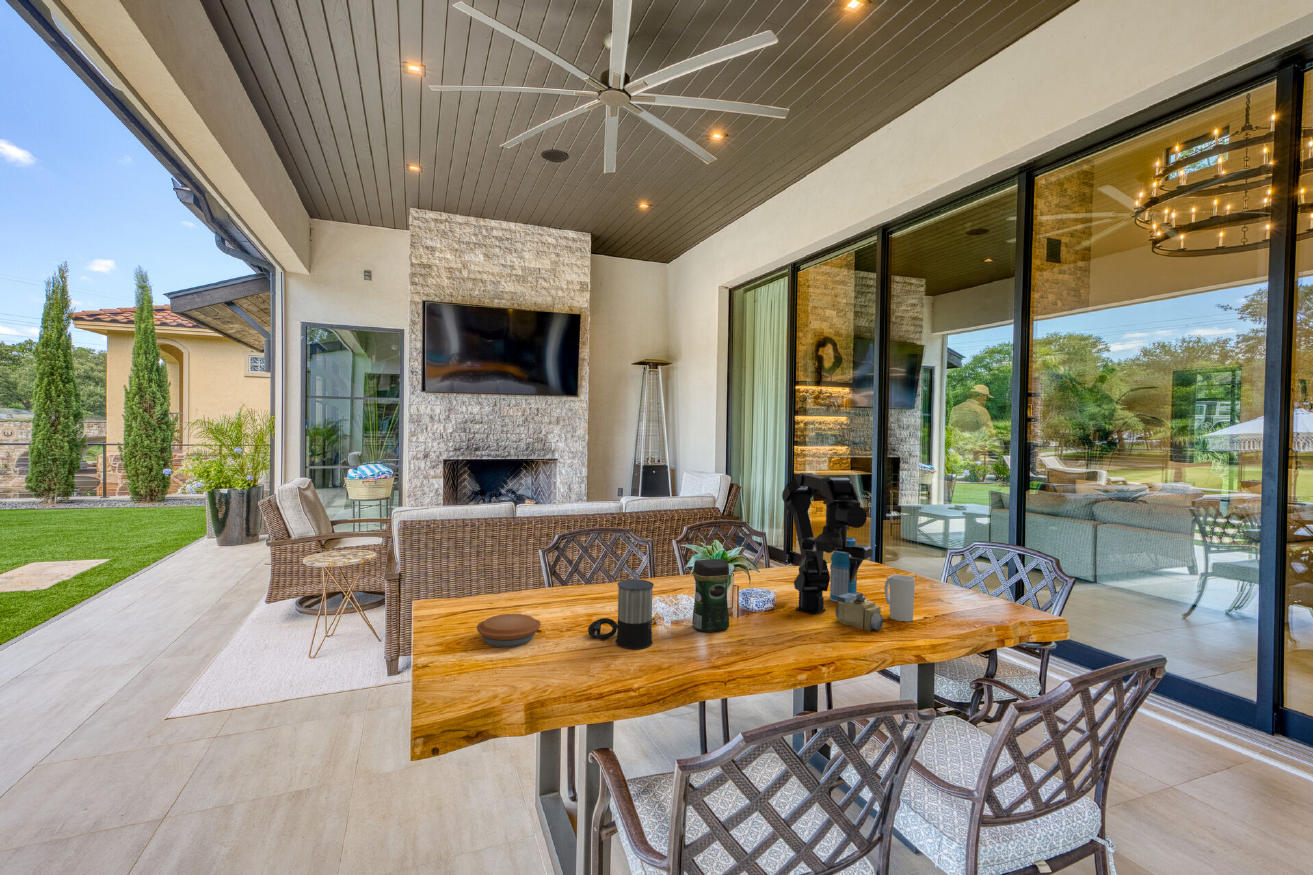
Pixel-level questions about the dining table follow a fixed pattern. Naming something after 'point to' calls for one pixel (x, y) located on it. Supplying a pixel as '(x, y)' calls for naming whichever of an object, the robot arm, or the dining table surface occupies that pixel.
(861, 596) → the lever
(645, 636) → the milk frother
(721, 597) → the coffee jar
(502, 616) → the pie
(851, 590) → the beverage bottle
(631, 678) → the dining table surface
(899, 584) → the mug
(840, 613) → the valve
